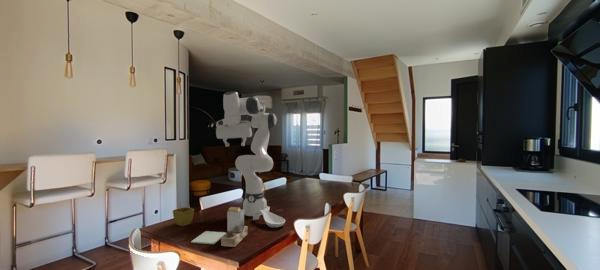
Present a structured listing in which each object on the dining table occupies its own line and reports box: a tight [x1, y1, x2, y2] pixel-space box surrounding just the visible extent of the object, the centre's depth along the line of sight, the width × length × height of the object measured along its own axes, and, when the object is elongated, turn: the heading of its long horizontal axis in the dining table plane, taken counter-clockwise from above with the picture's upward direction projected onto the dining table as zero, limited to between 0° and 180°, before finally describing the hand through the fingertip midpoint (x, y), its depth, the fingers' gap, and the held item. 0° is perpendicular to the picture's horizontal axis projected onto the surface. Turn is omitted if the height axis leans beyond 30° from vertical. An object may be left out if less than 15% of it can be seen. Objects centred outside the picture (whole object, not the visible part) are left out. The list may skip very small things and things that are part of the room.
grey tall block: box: [226, 206, 245, 232], centre depth 141 cm, size 5×7×11 cm
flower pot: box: [172, 206, 195, 227], centre depth 162 cm, size 9×9×9 cm
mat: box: [190, 230, 227, 245], centre depth 142 cm, size 14×12×1 cm
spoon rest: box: [252, 210, 286, 229], centre depth 164 cm, size 24×12×7 cm, turn 49°
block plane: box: [220, 225, 249, 248], centre depth 140 cm, size 17×7×6 cm, turn 170°
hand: (235, 146), depth 152 cm, fingers open, 8 cm apart
